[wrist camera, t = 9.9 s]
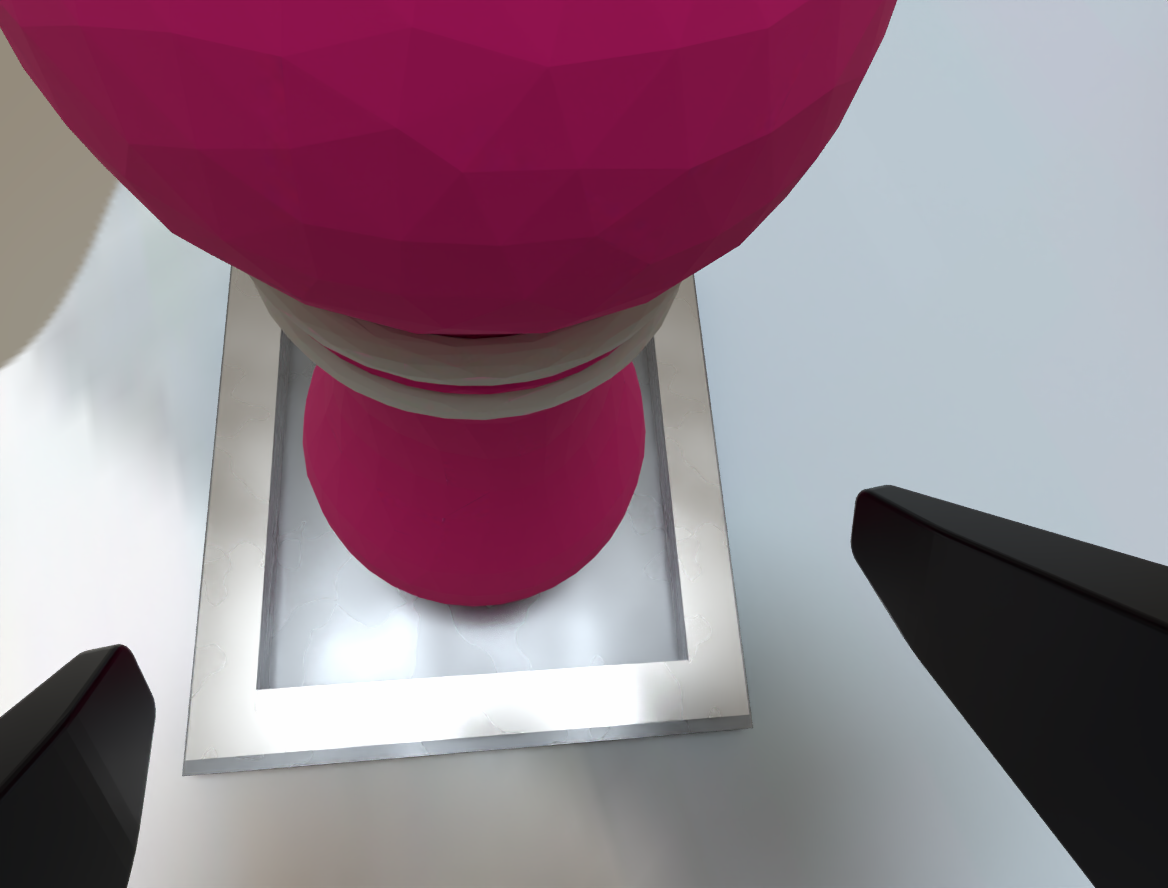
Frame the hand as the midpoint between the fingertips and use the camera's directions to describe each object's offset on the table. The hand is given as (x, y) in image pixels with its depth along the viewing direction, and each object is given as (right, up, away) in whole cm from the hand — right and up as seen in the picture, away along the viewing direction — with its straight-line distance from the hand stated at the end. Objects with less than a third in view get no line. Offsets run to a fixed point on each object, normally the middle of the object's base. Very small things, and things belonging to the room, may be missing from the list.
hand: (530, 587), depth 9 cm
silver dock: (-2, +1, +12) cm, 12 cm away
